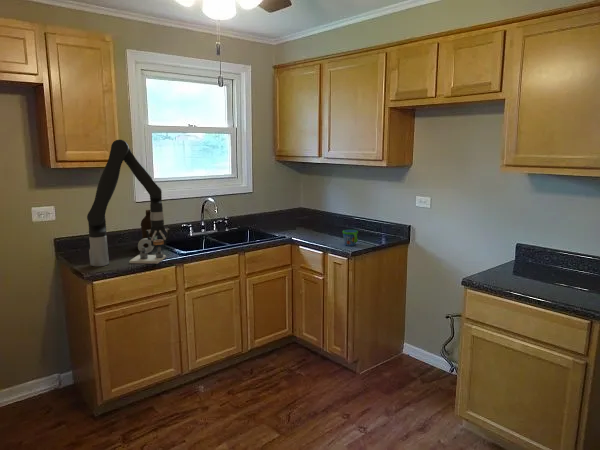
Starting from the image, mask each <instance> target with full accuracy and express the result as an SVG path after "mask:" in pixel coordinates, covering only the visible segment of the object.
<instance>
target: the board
mask: <svg viewBox="0 0 600 450" xmlns="http://www.w3.org/2000/svg"><path fill="white" fill-rule="evenodd" d="M166 258H167V256H166V254H163V257H162V258H156V254H148V258H147V259H140V254H137V255H136V256H135V257H133V258H131V259H130V260H129V264H156V265H157V264H159V263H160V262H162V261H163V260H164V259H166Z"/></svg>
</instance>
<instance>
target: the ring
mask: <svg viewBox="0 0 600 450" xmlns="http://www.w3.org/2000/svg"><path fill="white" fill-rule="evenodd" d="M153 244H154V245H157V246H162V245H164V239H157V240H154V241H153Z"/></svg>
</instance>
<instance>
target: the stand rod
mask: <svg viewBox="0 0 600 450" xmlns="http://www.w3.org/2000/svg"><path fill="white" fill-rule="evenodd" d="M145 248H146V247H144V246H143V248H142V252H140V251H139V255H140V259H147V258H148V255H149V253H148V252H145Z"/></svg>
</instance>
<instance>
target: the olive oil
mask: <svg viewBox="0 0 600 450" xmlns="http://www.w3.org/2000/svg"><path fill="white" fill-rule="evenodd" d="M150 214H151V211H150V209H145V216H144V217H143V218H142V219H141V221H140V228H141V229H140V230H141V237H142V238H141V239H144V238H147V234H146V230H150V229H151V217H150ZM152 235H153V233H152V232H151V231H150V233H149V236H150V238H152ZM153 240H158V236H155V237H154V239H153ZM148 246H149V245H148V244H147V243H145V244H144V245H143V247H145V248H148ZM157 246H158V245H154V247H157Z"/></svg>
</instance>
